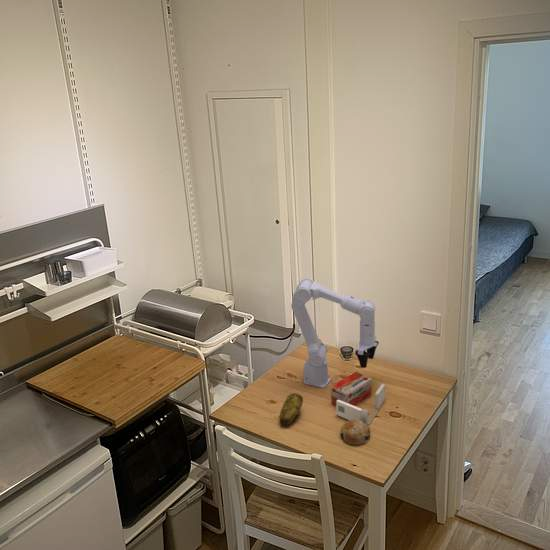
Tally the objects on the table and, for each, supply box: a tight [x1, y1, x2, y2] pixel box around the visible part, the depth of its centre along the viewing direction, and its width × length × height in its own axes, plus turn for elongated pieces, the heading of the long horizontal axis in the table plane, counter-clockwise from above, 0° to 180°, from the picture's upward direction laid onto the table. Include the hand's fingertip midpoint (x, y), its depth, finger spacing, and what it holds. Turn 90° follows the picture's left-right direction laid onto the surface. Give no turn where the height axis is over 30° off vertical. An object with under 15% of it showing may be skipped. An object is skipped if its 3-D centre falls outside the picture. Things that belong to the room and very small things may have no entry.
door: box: [335, 400, 363, 421], centre depth 212 cm, size 1×11×6 cm, turn 48°
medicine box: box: [330, 371, 373, 407], centre depth 224 cm, size 15×8×8 cm, turn 132°
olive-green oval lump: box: [279, 393, 304, 426], centre depth 215 cm, size 8×13×8 cm, turn 136°
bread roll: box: [339, 420, 371, 446], centre depth 203 cm, size 10×10×8 cm
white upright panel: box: [362, 383, 386, 427], centre depth 215 cm, size 2×21×7 cm, turn 151°
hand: (367, 362), depth 231 cm, fingers open, 7 cm apart
